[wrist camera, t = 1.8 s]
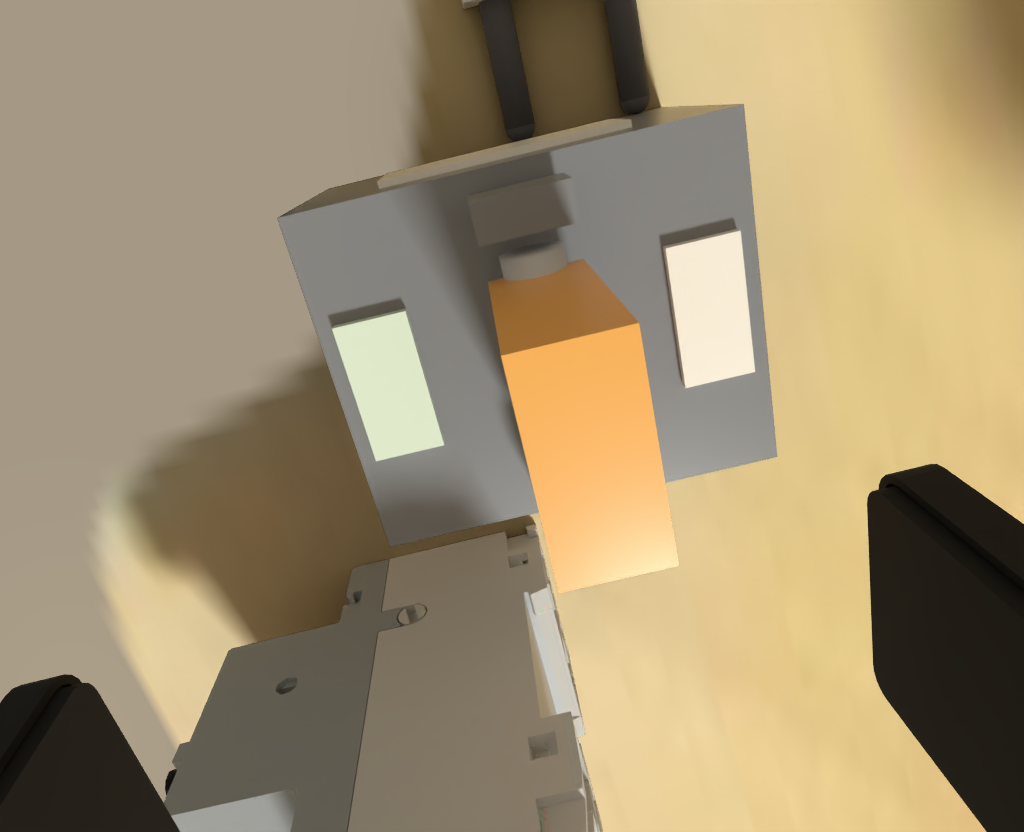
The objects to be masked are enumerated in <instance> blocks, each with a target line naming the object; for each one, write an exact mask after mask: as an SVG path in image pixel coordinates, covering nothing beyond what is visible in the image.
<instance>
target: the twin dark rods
mask: <svg viewBox="0 0 1024 832" xmlns="http://www.w3.org/2000/svg"><path fill="white" fill-rule="evenodd" d="M461 1H462V5H463V9H465V8H469V7H473V6H477V5H479V8H480V12H481V17H482V22H483V26H484V31H485V36H486V40H487V45H488V50H489V54H490V59H491V64H492V68H493V73H494V78H495V82H496V87H497V92H498V96H499V101H500V106H501V110H502V115H503V120H504V124H505V129H506V133H507V135H508V136H509V137H510V138H511V139H512V140H513V141H516V142H517V141H521V140H525V139H529V138H530V137H531V136H532V135H533V132H534V127H535V125H534V119H533V114H532V109H531V104H530V99H529V94H528V89H527V84H526V79H525V74H524V69H523V64H522V59H521V54H520V49H519V44H518V39H517V34H516V29H515V24H514V19H513V14H512V9H511V4H510V0H461ZM604 3H605V10H606V16H607V23H608V29H609V36H610V42H611V48H612V55H613V61H614V68H615V74H616V81H617V87H618V93H619V100H620V105H621V107H622V109H623V110H624V111H625V112H627V113H629V114H638V113H641V112H642V111H643V110H645V108H646V107H647V105H648V103H649V90H648V83H647V75H646V68H645V61H644V54H643V47H642V40H641V33H640V26H639V19H638V11H637V4H636V0H604Z"/></svg>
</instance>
